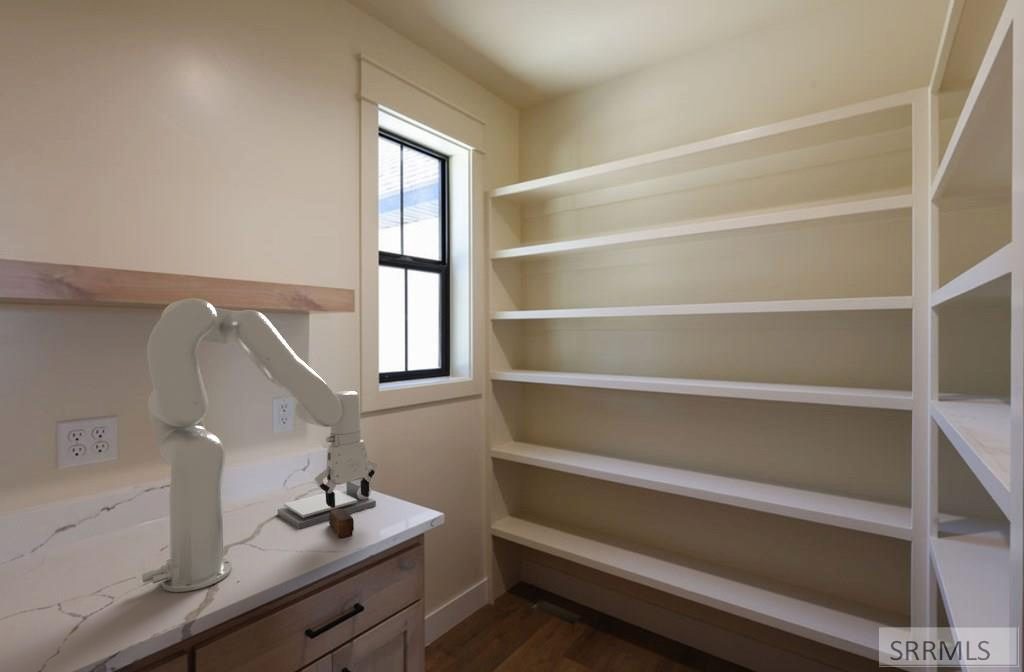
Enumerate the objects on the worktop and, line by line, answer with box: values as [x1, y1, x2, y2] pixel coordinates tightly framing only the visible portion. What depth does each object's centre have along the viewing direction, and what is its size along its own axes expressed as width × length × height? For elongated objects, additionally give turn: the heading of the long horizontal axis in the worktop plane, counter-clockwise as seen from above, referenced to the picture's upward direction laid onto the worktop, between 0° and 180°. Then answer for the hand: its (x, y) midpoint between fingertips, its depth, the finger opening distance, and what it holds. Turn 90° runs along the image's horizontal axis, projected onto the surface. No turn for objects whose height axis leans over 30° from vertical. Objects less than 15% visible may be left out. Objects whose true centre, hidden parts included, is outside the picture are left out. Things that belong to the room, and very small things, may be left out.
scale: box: [277, 479, 377, 530], centre depth 141 cm, size 23×15×6 cm, turn 137°
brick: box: [328, 509, 355, 539], centre depth 126 cm, size 11×4×5 cm, turn 34°
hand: (348, 500), depth 128 cm, fingers open, 9 cm apart
